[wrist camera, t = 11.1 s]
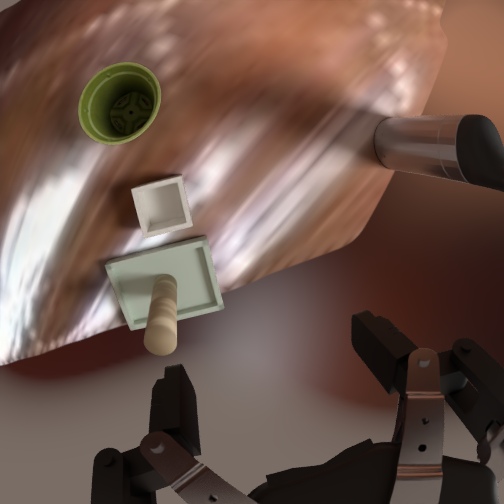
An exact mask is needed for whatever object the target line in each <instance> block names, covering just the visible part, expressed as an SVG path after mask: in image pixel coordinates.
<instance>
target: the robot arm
mask: <svg viewBox="0 0 504 504" xmlns="http://www.w3.org/2000/svg"><path fill="white" fill-rule="evenodd" d="M374 145H375V150H376V153H377V156H378V158H379V160H380V161H381V162H382V164H383V165H384V166H386V167H387V168H389V169H392V170H398V171H405V172H410V173H417V174H423V175H428V176H434V177H439V178H445V179H449V180H454V181H460V182H464V183H469V184H473V185H478V186H483V187H487V188H491V189H495V190H499V191H502V192H504V147H503V144H502V141H501V138H500V135H499V133H498V131H497V129H496V127H495V125H494V124H493V123H492V122H491V120H490V119H488V118H487V117H485V116H482V115H431V116H411V117H397V118H388V119H385V120H383V121H382V122H381V123H380V124H379V125H378V127H377V129H376V132H375V137H374ZM351 321H352V322H351V324H352V326H351V341H352V345H353V348H354V350H355V351H356V353H357V354H358V355H359V357H360V358H361V359H362V360H363V361H364V363H365V364H366V365H367V367H368V368H369V369H370V371H371V372H372V373H373V375H374V376H375V377H376V378H377V380H378V381H379V382H380V384H381V385H382V386H383V388H384V389H385V390H386V391H387V393H388V394H389V395H391V394H393V393H394V392H396V391H397V392H398V393H399V394H400V396H399V401H398V409H397V416H396V422H395V428H394V433H393V437H392V440H391V442H380V443H374V444H373V443H372V441H371V439H367V440H365V441H363V442H361V443H359V444H356V445H354V446H352V447H349V448H347V449H345V450H344V451H342V452H341V453H339V454H338V455H337V456H335V457H334V458H332V459H331V460H329V461H327V462H326V463H324V464H322V465H317V466H308V467H299V468H291V469H288V470H285V471H281V472H277V473H274V474H270V475H266V478H267V482H265V483H263V484H261V485H260V486H258V487H257V488H255V489H254V490H253V491H251V493H250V494H248V495H247V496H246V495H245V494H243V493H242V492H240V491H239V490H237V489H236V488H234V487H233V486H232V485H230V484H229V483H228V482H226V481H225V480H224V479H222V478H221V477H220V476H218V475H217V474H216V473H214V472H213V471H212V470H211V469H209V468H208V467H207V466H205V465H204V464H201V463H200V462H198V461H197V460H196V459H195V458H194V456H198V455H201V448H200V439H199V427H198V415H197V402H196V394H195V390H194V388H193V385H192V383H191V381H190V379H189V377H188V375H187V373H186V371H185V369H184V367H183V365H182V364H177V365H172V366H167V367H165V375H164V378H163V379H158V380H157V381H156V383H155V385H154V387H153V388H152V399H151V409H150V422H149V434H147V435H146V436H145V437H144V438H143V439H142V441H141V443H140V446H138V447H137V448H134V449H131V450H129V451H126V452H123V453H120V452H119V451H118V450H117V449H114V448H106V449H103V450H101V451H100V452H99V453H98V454H97V455H96V456H95V459H94V465H93V476H92V491H91V504H157V503H156V490H158V489H161V488H164V487H167V486H169V485H170V486H171V487H172V489H173V490H174V491H175V492H176V493H177V494H178V495H179V496H180V497H181V498H182V499H183V500H184V501H186V502H187V503H188V504H499V499H498V487H497V483H499V482H500V480H502V479H503V478H504V368H503V367H502V366H500V364H499V363H498V362H497V361H496V360H494V359H493V358H492V357H491V356H490V355H489V354H488V353H487V352H486V351H485V350H484V349H483V348H482V347H481V346H479V345H478V344H477V343H476V342H475V341H474V340H472V339H469V338H461V339H458V340H456V341H455V342H454V344H453V346H452V350H448V351H445V352H441V353H435V352H434V351H432V350H430V349H426V348H420V349H419V348H418V347H417V346H416V345H415V344H413V342H412V341H411V340H410V339H408V338H407V337H406V336H405V335H404V334H403V333H402V332H400V330H399V329H398V328H397V327H395V325H394V324H392V323H391V322H390V321H389V320H388V319H385V318H383V317H381V316H377V317H375V316H374V315H373V314H372V313H371V312H370V311H368V310H364V311H362V312H359V313H356V314H354V315H352V319H351ZM467 380H469V381H470V382H471V383H472V384H473V385H474V387H475V388H476V389H477V390H478V392H477V391H476V390H475V388H474V387H473V386H472V385H471V384H470V383H469V382H468V381H467ZM445 401H446V402H447V403H448V404H449V406H450V407H451V408H452V409H453V411H454V412H455V413H456V415H457V416H458V417H459V418H460V420H461V421H462V422H463V424H464V425H465V426H466V428H467V429H468V430H469V432H470V433H471V434H472V436H473V437H474V438H475V440H476V441H477V443H478V444H477V454H478V455H477V459H478V460H479V461H480V463H479V462H473V461H468V460H463V459H458V458H453V457H449V456H444V455H442V454H443V441H444V420H445V419H444V418H445Z"/></svg>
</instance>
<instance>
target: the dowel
mask: <svg viewBox="0 0 504 504" xmlns="http://www.w3.org/2000/svg"><path fill="white" fill-rule="evenodd" d="M144 344H145V347H146V348H147V349H148V350H149V351H150V352H152V353H154V354H156V355H168V354H170V353H172V352H173V351H174V350H175V348H176V346H177V281H176V279H175V278H174V277H173V276H172V275H169V274H161V275H159V276H158V277H157V278H156V279H155V282H154V287H153V292H152V297H151V302H150V307H149V313H148V319H147V324H146V330H145V337H144Z"/></svg>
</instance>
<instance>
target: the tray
mask: <svg viewBox="0 0 504 504" xmlns="http://www.w3.org/2000/svg"><path fill="white" fill-rule="evenodd" d="M105 268H106V271H107V273H108V276H109V279H110V281H111V284H112V287H113V289H114V292H115V294H116V297H117V299H118V302H119V304H120V307H121V309H122V311H123V314H124V316H125V318H126V321H127V323H128V325H129V327H130V329H131V330H135V329H140V328H144V327H146V324H147V319H148V313H149V307H150V302H151V297H152V292H153V287H154V282H155V279H156V278H157V277H158V276H159V275H161V274H169V275H172V276H173V277H174V278H175V279H176V281H177V320H180V319H185V318H189V317H193V316H197V315H201V314H206V313H210V312H213V311H217V310H222V309H224V305H223V301H222V297H221V293H220V289H219V285H218V281H217V277H216V273H215V269H214V265H213V261H212V257H211V252H210V248H209V244H208V240H207V236H201V237H197V238H193V239H189V240H185V241H181V242H177V243H173V244H169V245H165V246H161V247H157V248H153V249H149V250H146V251H142V252H138V253H134V254H130V255H126V256H123V257H119V258H115V259H111V260H108V261H107V263H106V264H105Z"/></svg>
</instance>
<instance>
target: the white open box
mask: <svg viewBox="0 0 504 504" xmlns="http://www.w3.org/2000/svg"><path fill="white" fill-rule="evenodd" d="M131 191H132V195H133V199H134V203H135V207H136V211H137V215H138V218H139V222H140V226H141V229H142V233H143V237H144V239H145V238H148V237H152V236H156V235H160V234H164V233H168V232H172V231H176V230H180V229H184V228H188V227H192V226H193V223H192V216H191V212H190V207H189V203H188V198H187V194H186V189H185V185H184V180H183V175H182V174H180V175H176V176H172V177H168V178H164V179H160V180H156V181H152V182H149V183H145V184H141V185H138V186H136V187H134V188H133V189H131Z"/></svg>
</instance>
